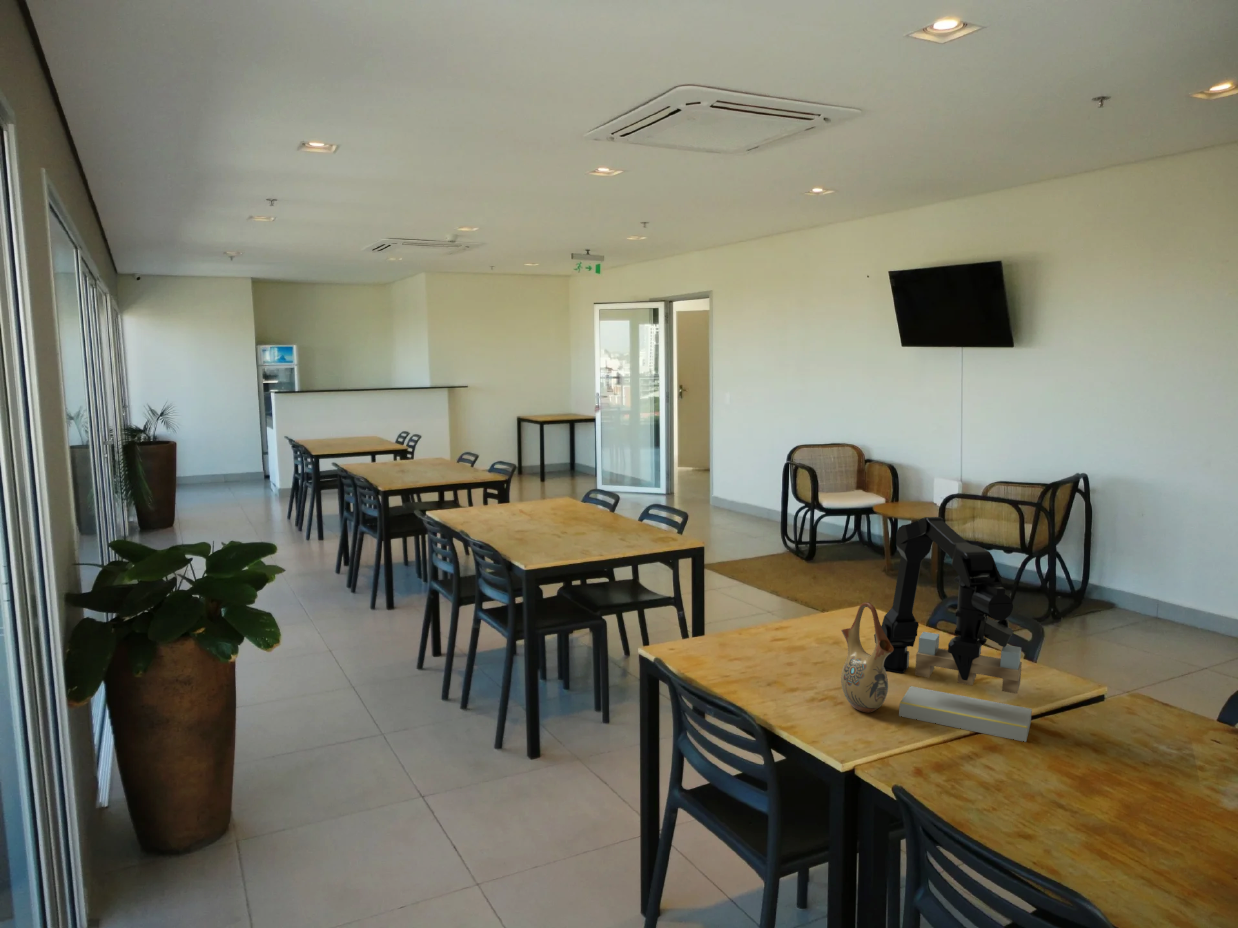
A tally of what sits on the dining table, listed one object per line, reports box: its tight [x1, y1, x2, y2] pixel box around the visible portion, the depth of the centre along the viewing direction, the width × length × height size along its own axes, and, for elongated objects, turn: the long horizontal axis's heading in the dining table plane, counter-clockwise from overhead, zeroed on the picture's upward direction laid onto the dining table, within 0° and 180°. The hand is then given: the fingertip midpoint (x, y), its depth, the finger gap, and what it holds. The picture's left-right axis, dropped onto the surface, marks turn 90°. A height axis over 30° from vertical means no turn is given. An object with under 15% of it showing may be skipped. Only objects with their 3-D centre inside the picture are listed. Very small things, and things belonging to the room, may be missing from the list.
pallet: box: [914, 647, 1023, 695], centre depth 193 cm, size 21×6×5 cm, turn 61°
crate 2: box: [1000, 644, 1022, 670], centre depth 188 cm, size 4×5×4 cm
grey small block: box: [917, 631, 940, 656], centre depth 197 cm, size 4×5×4 cm
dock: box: [898, 686, 1033, 743], centre depth 194 cm, size 26×12×3 cm, turn 61°
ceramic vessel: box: [840, 601, 894, 713], centre depth 198 cm, size 16×9×25 cm, turn 22°
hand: (967, 674), depth 193 cm, fingers closed on pallet, 6 cm apart
